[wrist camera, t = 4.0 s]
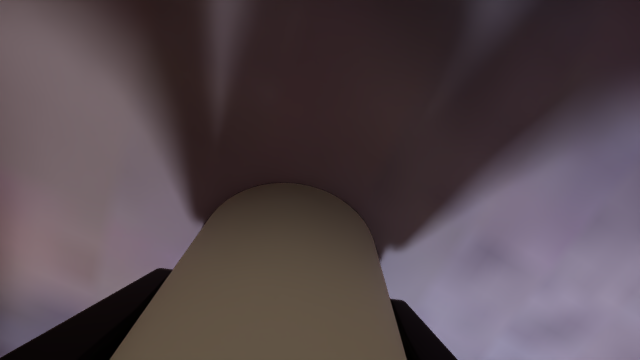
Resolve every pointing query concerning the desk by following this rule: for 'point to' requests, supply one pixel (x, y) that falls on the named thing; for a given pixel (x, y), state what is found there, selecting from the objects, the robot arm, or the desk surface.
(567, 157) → the desk surface
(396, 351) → the sage cylinder
